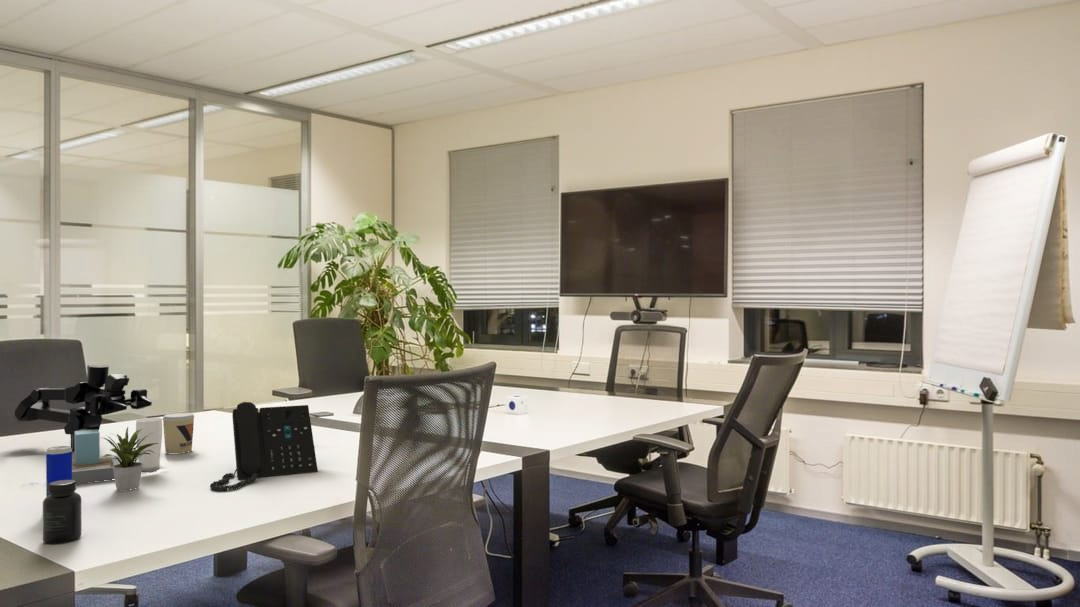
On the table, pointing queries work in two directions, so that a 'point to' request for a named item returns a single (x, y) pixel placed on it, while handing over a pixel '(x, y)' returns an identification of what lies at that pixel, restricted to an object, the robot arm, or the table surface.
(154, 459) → the white tall tapered cylinder
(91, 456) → the block
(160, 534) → the table surface
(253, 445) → the office phone
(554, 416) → the table surface
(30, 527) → the table surface
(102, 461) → the board
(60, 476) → the beverage can
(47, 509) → the supplement bottle
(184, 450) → the coffee cup
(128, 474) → the house plant
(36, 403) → the robot arm
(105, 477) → the box
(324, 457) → the table surface
